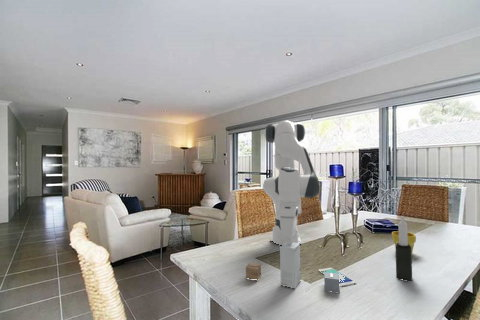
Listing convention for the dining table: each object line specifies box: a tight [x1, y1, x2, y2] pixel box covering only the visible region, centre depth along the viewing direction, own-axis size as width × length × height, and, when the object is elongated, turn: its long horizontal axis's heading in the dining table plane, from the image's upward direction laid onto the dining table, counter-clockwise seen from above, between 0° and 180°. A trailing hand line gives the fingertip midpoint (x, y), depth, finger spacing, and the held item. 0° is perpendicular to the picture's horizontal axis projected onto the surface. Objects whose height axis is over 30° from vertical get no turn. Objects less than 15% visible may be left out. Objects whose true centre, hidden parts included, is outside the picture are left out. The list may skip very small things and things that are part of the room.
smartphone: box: [318, 267, 357, 286], centre depth 99 cm, size 8×1×15 cm
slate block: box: [323, 272, 340, 294], centre depth 90 cm, size 5×5×5 cm
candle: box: [395, 215, 413, 282], centre depth 98 cm, size 5×5×25 cm
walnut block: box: [245, 262, 262, 280], centre depth 99 cm, size 5×5×5 cm
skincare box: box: [279, 242, 302, 289], centre depth 95 cm, size 8×6×15 cm
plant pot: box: [391, 230, 417, 252], centre depth 126 cm, size 10×10×10 cm
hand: (290, 243), depth 95 cm, fingers closed
